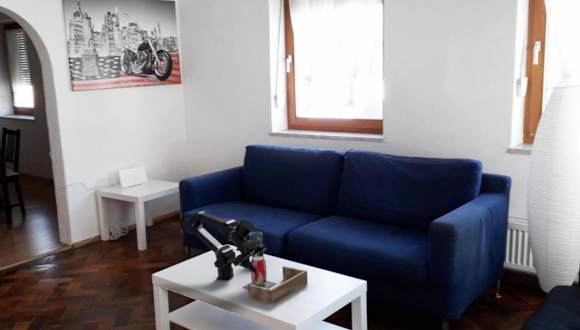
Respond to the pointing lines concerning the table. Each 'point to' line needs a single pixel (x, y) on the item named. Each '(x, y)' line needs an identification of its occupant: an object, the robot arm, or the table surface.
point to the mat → (265, 285)
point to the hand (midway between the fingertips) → (260, 269)
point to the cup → (253, 235)
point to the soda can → (258, 270)
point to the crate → (279, 286)
